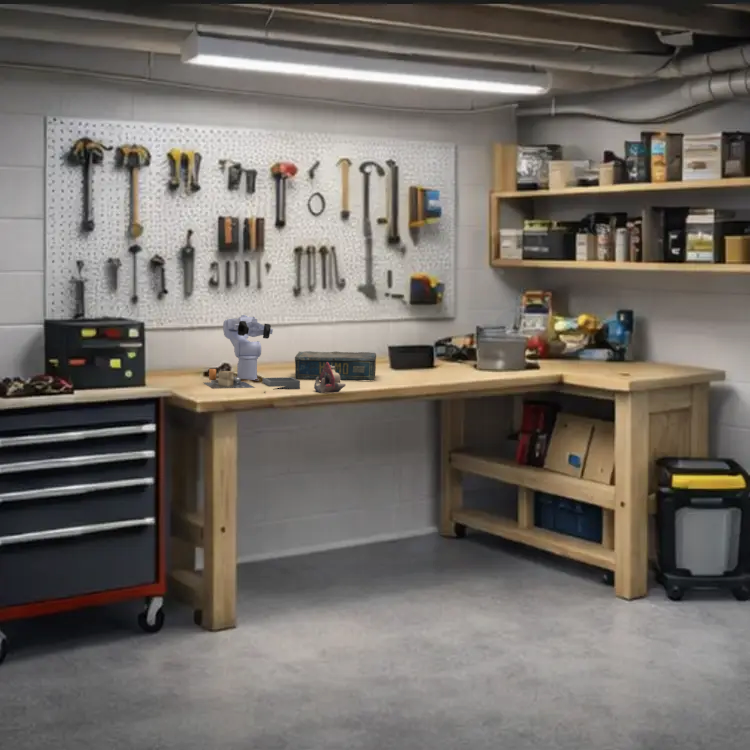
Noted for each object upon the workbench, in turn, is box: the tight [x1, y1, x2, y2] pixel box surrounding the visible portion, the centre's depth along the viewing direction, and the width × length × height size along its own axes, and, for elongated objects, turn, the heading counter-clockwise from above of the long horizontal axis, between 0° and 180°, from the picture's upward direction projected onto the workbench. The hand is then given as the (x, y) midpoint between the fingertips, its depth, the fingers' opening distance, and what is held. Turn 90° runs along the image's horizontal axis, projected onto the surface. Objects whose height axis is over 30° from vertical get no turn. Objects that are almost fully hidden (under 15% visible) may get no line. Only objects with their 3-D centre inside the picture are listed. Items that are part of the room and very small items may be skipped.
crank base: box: [202, 381, 256, 390], centre depth 442 cm, size 18×16×1 cm
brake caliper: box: [313, 362, 346, 395], centre depth 439 cm, size 11×11×12 cm
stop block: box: [218, 370, 234, 386], centre depth 442 cm, size 4×4×5 cm
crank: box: [208, 368, 242, 383], centre depth 447 cm, size 12×4×5 cm, turn 109°
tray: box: [262, 376, 301, 390], centre depth 448 cm, size 12×12×3 cm
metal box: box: [294, 350, 377, 381], centre depth 482 cm, size 21×32×10 cm, turn 89°
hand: (257, 332), depth 444 cm, fingers open, 7 cm apart
